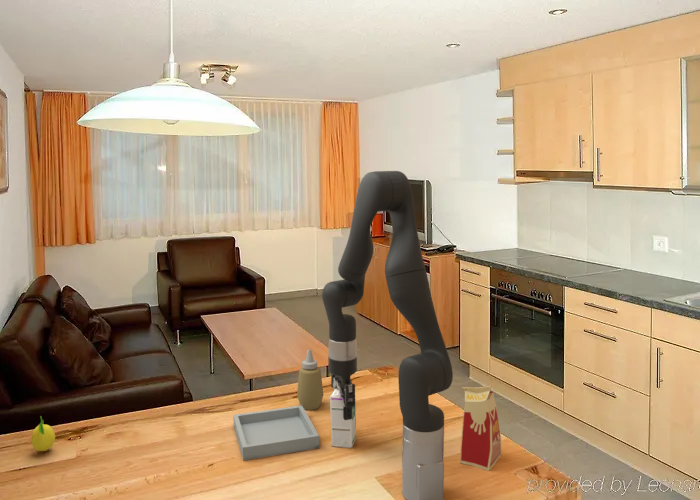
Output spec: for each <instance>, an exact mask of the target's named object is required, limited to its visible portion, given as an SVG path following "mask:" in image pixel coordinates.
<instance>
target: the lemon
mask: <svg viewBox="0 0 700 500" xmlns="http://www.w3.org/2000/svg"><path fill="white" fill-rule="evenodd" d="M39 417H40V423H39V424H38V425H37V426H36V427H35V428H34V430H33V432H32V433H31V438H30V439H31V440H30V441H31V444H32V445H31V446H32V447H33V449H34V450H36V452H37V451H39V452H43V451H46V450H49V449H51V448H52V447H53V445H54V444H55V441H56V433H55V430H54V429H53V428H52V427H51V425H49V424H44V423H45V422H44V419H43V418H42V416H41V415H40V416H39ZM46 452H47V451H46Z"/></svg>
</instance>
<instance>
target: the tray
mask: <svg viewBox="0 0 700 500" xmlns="http://www.w3.org/2000/svg"><path fill="white" fill-rule="evenodd" d="M232 416H233V428H234V432H235V436H236V439H237V442H238V443H237V444H238V446H239V450H240V454H241V458H242V460H243V461H248V460H255V459H261V458H267V457H272V456H279V455H286V454H290V453H291V454H293V453H299V452H303V451H304V452H305V451H312V450H315V449H320V435H319V433H318V431H317V430H316V427H315V426H314V425H313V422H312V420H311V419H310V417H309V415H308V413H307V412H306V409H304V408H303V406H302V405H295V406H289V407H279V408H274V409H273V408H272V409H267V410H265V409H264V410H258V411H251V412H244V413H238V414H232Z"/></svg>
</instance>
